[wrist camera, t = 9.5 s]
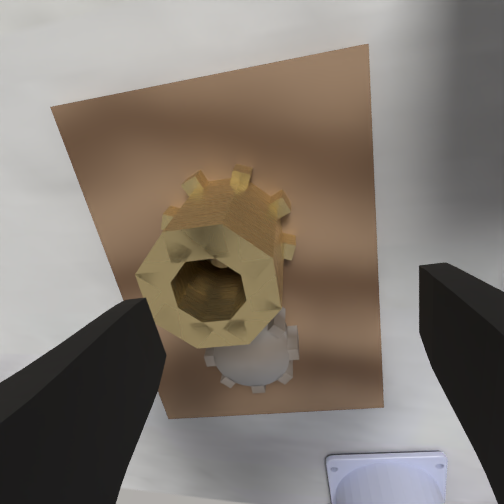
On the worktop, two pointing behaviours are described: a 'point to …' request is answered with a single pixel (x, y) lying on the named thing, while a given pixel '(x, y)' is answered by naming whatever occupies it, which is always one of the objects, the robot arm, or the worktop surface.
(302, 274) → the carrier plate
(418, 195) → the worktop surface
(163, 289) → the gear
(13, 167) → the worktop surface
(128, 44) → the worktop surface
